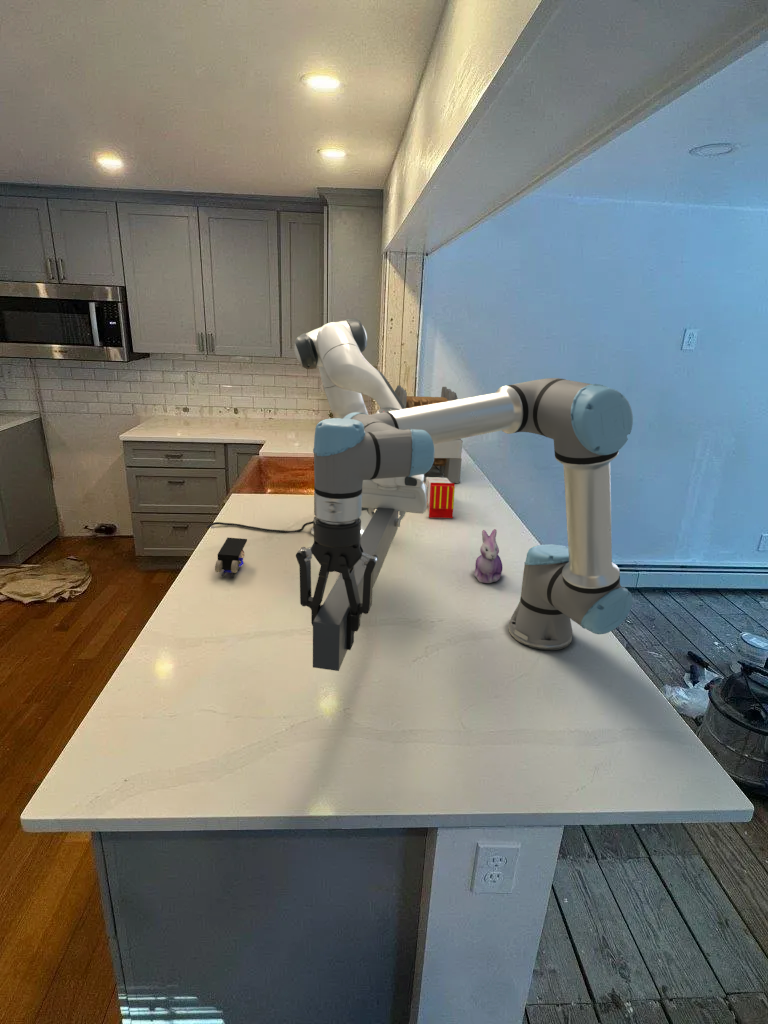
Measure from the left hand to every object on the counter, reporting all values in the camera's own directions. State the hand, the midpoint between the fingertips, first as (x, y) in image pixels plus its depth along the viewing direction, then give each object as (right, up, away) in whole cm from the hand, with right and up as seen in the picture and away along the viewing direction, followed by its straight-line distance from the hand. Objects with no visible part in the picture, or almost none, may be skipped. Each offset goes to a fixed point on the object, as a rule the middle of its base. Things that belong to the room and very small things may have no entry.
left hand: (386, 524), depth 147 cm
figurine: (+31, -16, +23) cm, 41 cm away
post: (-5, -12, -24) cm, 27 cm away
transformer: (+17, +22, +128) cm, 131 cm away
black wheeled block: (-45, -14, +20) cm, 52 cm away
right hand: (-9, -19, -49) cm, 54 cm away
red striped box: (+21, +6, +82) cm, 85 cm away
